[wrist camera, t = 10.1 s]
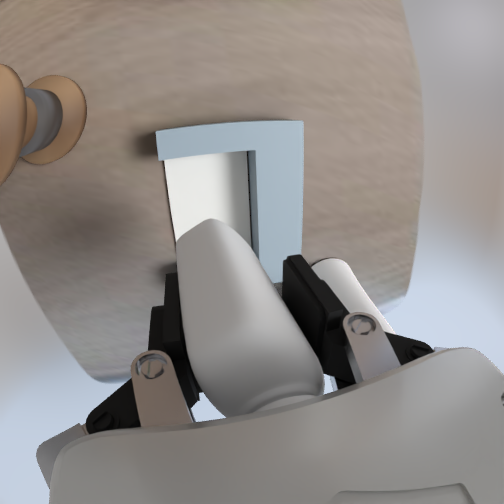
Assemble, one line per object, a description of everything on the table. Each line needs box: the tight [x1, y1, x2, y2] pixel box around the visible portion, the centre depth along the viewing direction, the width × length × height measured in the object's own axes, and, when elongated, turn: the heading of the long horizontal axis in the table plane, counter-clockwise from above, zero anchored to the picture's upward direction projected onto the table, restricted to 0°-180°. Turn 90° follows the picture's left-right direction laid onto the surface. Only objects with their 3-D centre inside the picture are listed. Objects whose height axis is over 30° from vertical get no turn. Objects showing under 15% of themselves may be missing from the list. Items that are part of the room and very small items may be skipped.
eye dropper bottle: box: [176, 218, 325, 418], centre depth 9 cm, size 4×6×12 cm
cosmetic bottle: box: [311, 258, 397, 335], centre depth 19 cm, size 6×6×22 cm
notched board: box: [156, 120, 303, 283], centre depth 21 cm, size 13×10×2 cm
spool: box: [0, 64, 87, 186], centre depth 11 cm, size 7×7×10 cm
